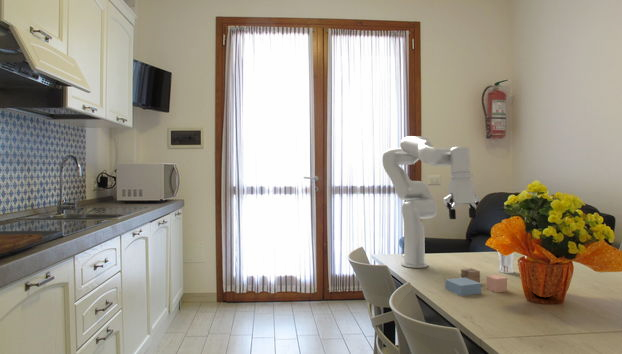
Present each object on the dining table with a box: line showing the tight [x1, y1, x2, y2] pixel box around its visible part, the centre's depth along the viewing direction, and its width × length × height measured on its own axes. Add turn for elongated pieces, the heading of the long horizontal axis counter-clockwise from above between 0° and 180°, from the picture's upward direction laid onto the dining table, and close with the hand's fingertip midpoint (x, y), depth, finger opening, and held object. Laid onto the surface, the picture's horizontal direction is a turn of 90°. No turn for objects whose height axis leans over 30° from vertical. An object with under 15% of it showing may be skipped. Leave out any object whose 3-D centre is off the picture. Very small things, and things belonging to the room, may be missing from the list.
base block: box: [444, 277, 482, 297], centre depth 151 cm, size 9×9×4 cm
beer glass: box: [497, 251, 515, 274], centre depth 179 cm, size 7×7×15 cm
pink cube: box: [486, 274, 508, 293], centre depth 152 cm, size 5×5×5 cm
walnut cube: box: [460, 267, 481, 283], centre depth 163 cm, size 5×5×5 cm
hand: (462, 218), depth 164 cm, fingers open, 9 cm apart
